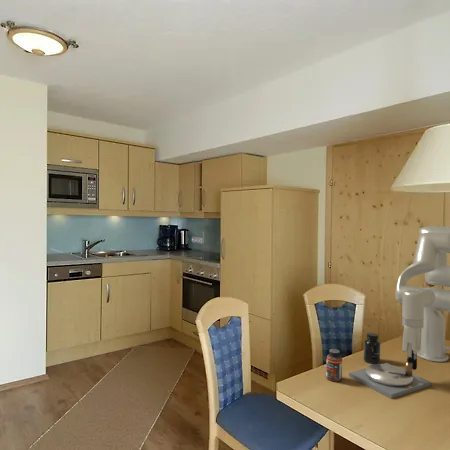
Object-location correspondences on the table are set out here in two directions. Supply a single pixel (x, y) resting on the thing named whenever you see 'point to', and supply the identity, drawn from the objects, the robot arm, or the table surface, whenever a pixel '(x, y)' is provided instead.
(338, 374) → the supplement bottle
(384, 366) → the dial
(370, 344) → the supplement bottle
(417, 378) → the base plate
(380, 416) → the table surface
